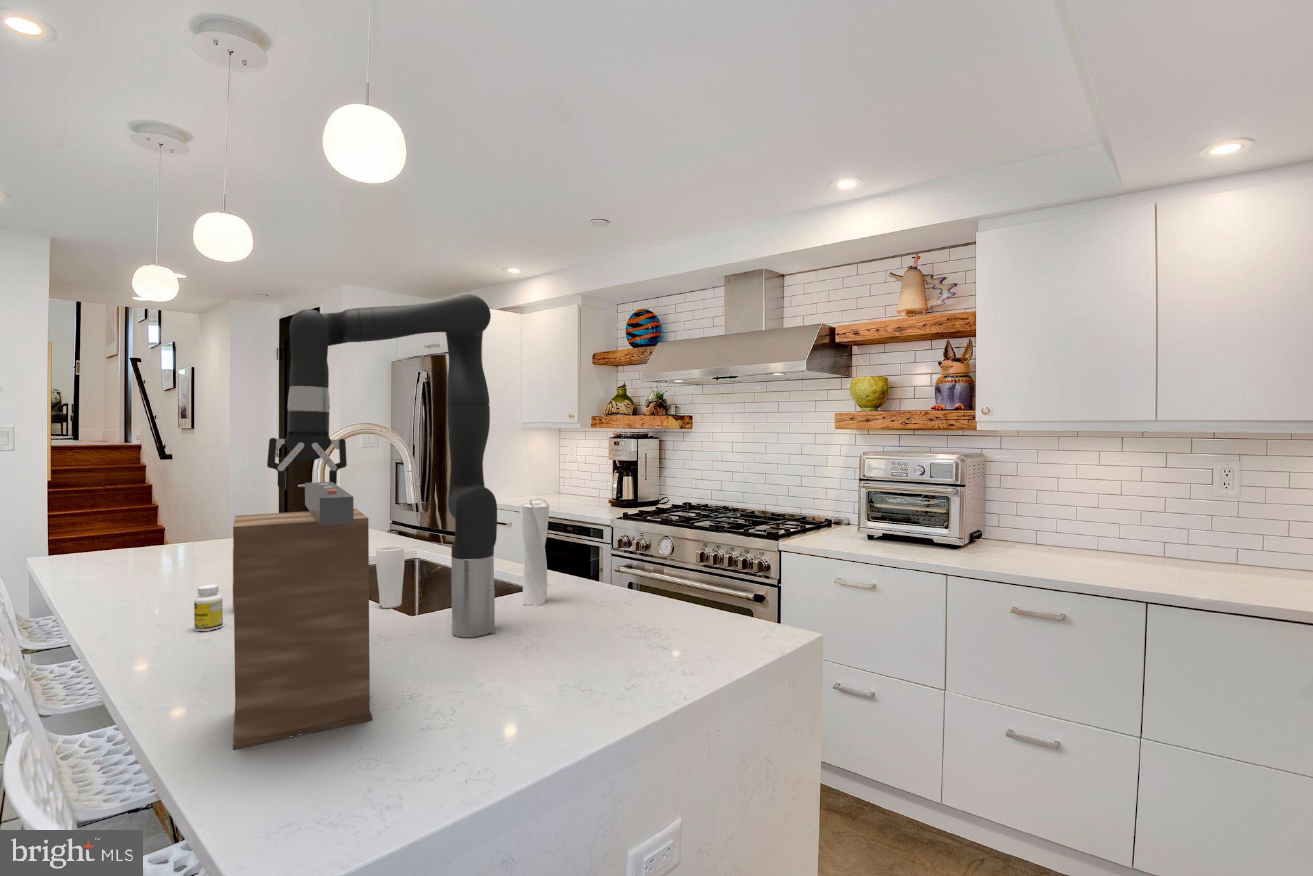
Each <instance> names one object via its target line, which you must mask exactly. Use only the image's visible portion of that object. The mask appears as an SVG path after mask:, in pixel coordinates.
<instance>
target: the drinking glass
mask: <svg viewBox="0 0 1313 876" xmlns="http://www.w3.org/2000/svg"><path fill="white" fill-rule="evenodd" d="M375 550H376V551H375V563H376V564H375V566H376V567H375V568H376V578H377V587H378V597H379V599H378V601H379V602H378V603H379V607H380V606H383V608H382V609H393V608H398V607H400V606H402V603H403V598H402V596H403V585H404V584H403V583H404V573H405V547H404V546H401V545H391V546H390V545H386V546H382V547H378V548H376V549H375Z"/></svg>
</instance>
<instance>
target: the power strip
mask: <svg viewBox="0 0 1313 876" xmlns="http://www.w3.org/2000/svg"><path fill="white" fill-rule="evenodd" d="M304 506H305V507H306V508H307V509H308V511H310V512H311V514H312V515H313V517H314V518H315V519H316V521H317V522H318V524H319V525H320V526H323V525H338V524H352V523H354V509H355V508H354V496H353V495H352V494H350V493H349V492H348V491H346V490H345V489H343V488H342V487H340V486H339V485H337V484H334V483H333V482H329V481H325V482H324V481H321V482H320V481H318V482H317V481H316V482H304Z"/></svg>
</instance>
